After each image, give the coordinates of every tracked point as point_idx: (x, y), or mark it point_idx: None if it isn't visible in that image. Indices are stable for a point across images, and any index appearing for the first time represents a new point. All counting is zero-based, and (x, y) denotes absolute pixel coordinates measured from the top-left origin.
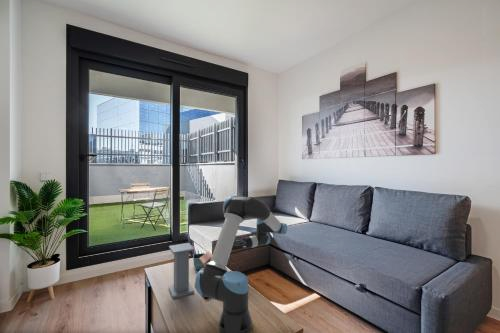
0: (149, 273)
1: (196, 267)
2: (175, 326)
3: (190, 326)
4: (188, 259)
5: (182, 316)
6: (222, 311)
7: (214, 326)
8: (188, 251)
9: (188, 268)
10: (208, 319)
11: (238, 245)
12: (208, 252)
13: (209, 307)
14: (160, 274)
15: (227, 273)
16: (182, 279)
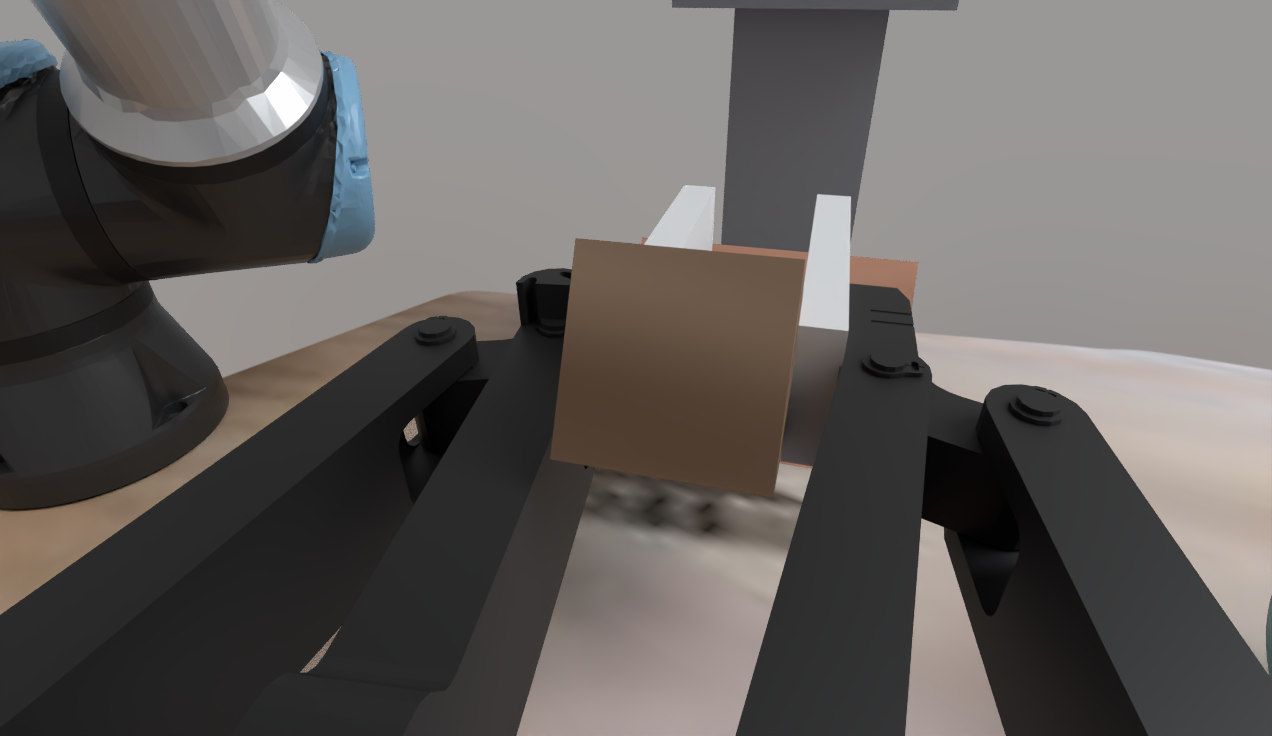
0: (1242, 366)
1: (1268, 653)
2: (458, 297)
3: (388, 323)
4: (728, 125)
5: (492, 328)
6: (164, 309)
7: (254, 374)
8: (734, 25)
9: (722, 222)
10: (328, 380)
11: (196, 487)
12: (854, 259)
13: (405, 428)
14: (1195, 404)
15: (4, 44)
16: None
